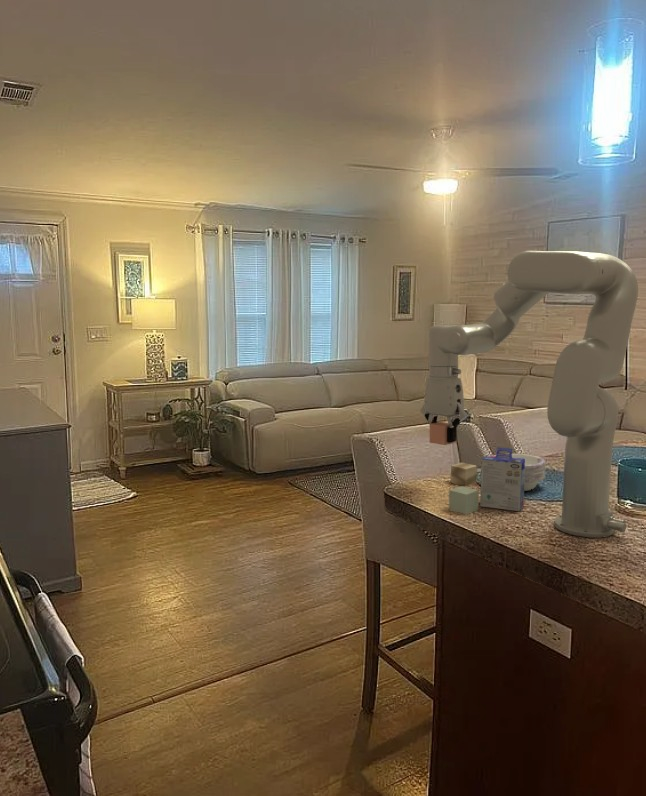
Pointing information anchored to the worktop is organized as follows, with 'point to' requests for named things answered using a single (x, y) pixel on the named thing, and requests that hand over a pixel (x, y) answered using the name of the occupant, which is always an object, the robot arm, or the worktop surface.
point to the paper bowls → (532, 470)
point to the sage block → (463, 499)
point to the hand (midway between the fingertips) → (442, 439)
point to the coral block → (439, 433)
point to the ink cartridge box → (502, 481)
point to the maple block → (463, 474)
